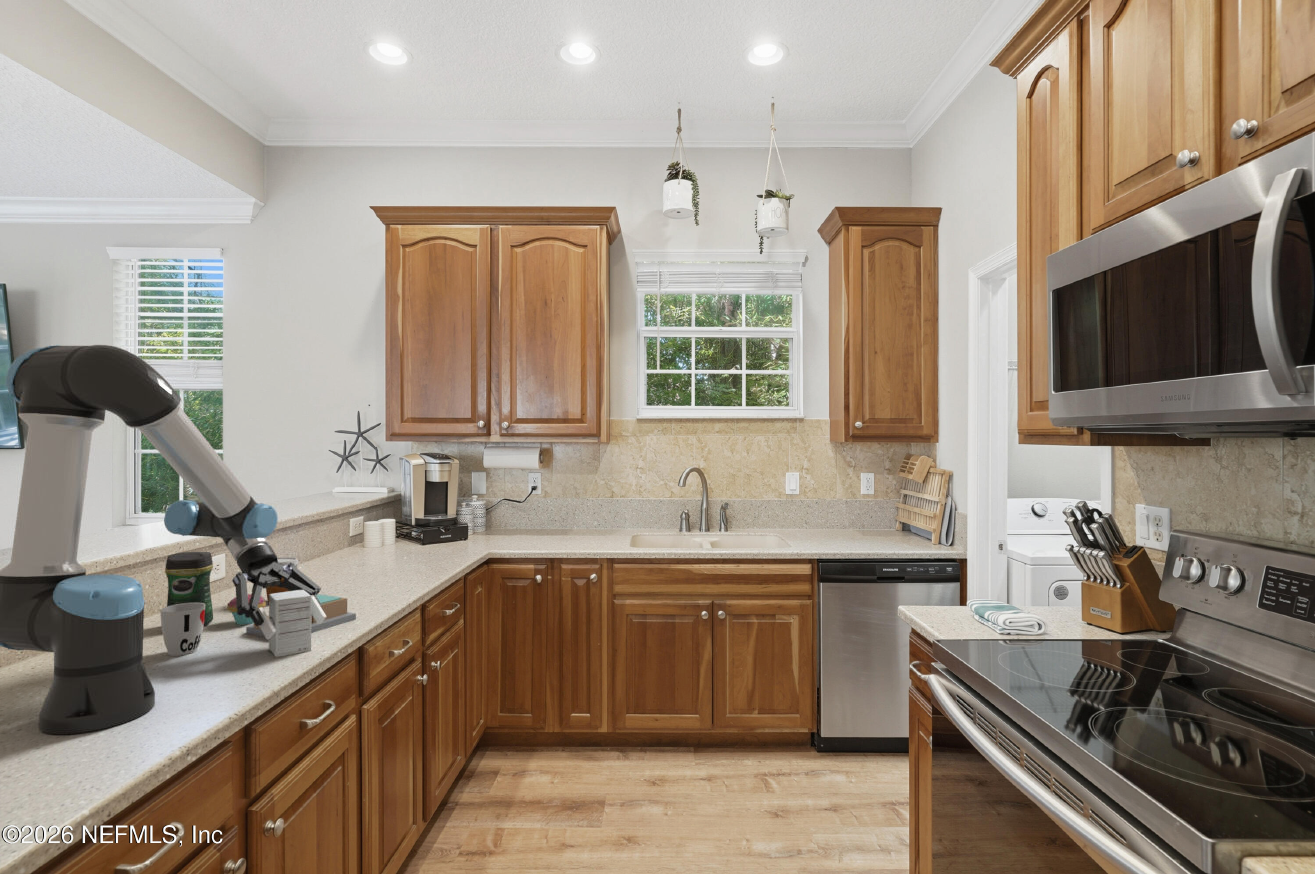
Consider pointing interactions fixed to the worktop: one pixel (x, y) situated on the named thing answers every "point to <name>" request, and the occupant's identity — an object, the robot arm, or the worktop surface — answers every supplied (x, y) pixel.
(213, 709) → the worktop surface
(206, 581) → the coffee jar
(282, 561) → the disposable coffee cup
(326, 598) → the build base
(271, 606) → the supplement box
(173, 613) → the cup
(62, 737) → the worktop surface
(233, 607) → the cupcake
